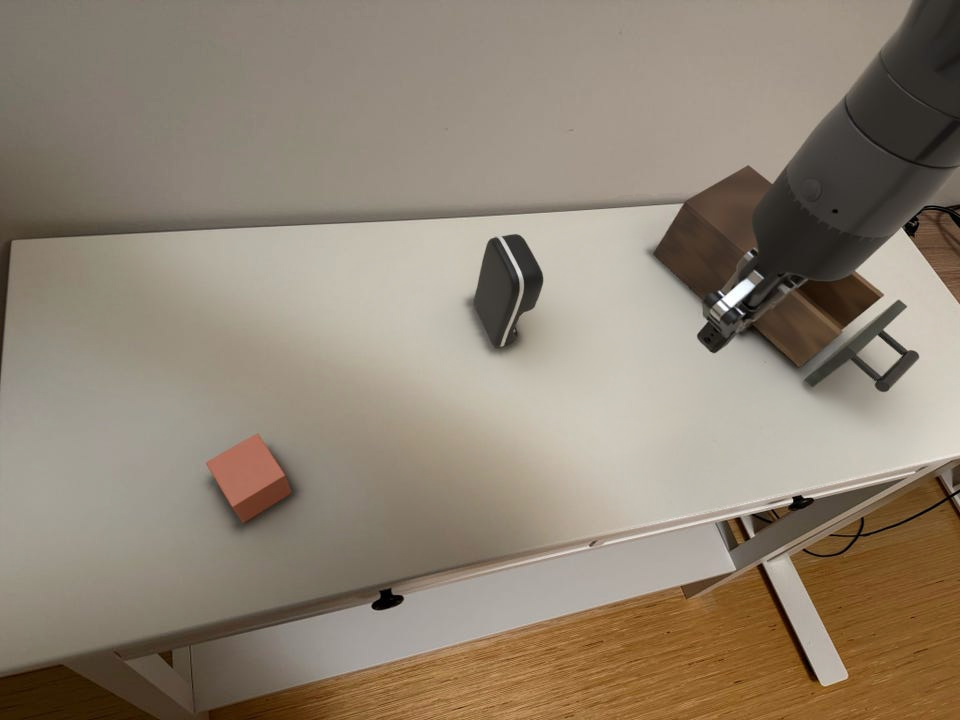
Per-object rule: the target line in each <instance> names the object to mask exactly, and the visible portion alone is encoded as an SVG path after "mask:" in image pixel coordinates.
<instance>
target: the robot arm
mask: <svg viewBox="0 0 960 720" xmlns="http://www.w3.org/2000/svg"><path fill="white" fill-rule="evenodd" d="M959 169H960V0H911V1H910V3H909V5H908V8H907V10H906V12H905V14H904V16H903V18H902V20H901V22H900V24H899V25H898V26H897V28H896V29H895V30H894V31H893V33H892V34H891V35H890V36H889V37H888V39H887V40H886V41H885V42H884V44H883V45H882V46H881V47H880V49H879V50H878V51H877V53H876V54H875V55H874V56H873V58H872V59H871V61H870V62H869V63H868V64H867V66H866V67H865V68H864V69H863V70H862V72H861V73H860V75H859V76H858V77H857V79H856V80H855V81H854V82H853V84H852V85H851V87H850V88H849V89H848V91H847V92H846V93H845V94H844V95H843V97H842V99H840V100H839V102H838V103H836V105H835V106H834V107H833V108H831V110H830V111H829V112H828V113H827V114H826V115H825V116H824V117H823V118H822V119H821V120H820V121H819V122H818V124H817V125H816V126H815V127H814V129H812V131H811V132H810V134H809V135H808V136H807V138H805V140H804V142H803V143H802V144H801V146H800V147H799V148H798V150H797V151H796V152H795V154H794V155H793V157H791V159H790V160H789V161H788V163H787V165H785V167H784V168H783V169H782V170H781V172H780V174H779V175H777V177H776V179H775V180H774V182H772V185H771V187H770V188H769V189H768V191H767V192H766V193H765V195H764V196H763V197H762V199H761V200H760V201H759V203H758V204H757V206H756V207H755V209H754V211H753V214H752V219H751V225H752V231H753V234H754V236H755V239H756V243H757V247H758V250H757V249H756V248H755V247H754V248H752V249H750V250H749V251H748V252H747V253H746V254H745V255H744V256H743V257H742V259H741V260H740V261H739V262H738V264H737V271H736V272H735V273H734V275H733V276H732V277H731V278H730V280H729V281H728V282H727V283H726V285H725V286H724V287H723V289H722V290H719V291H718V292H717V291H716V290H715V291H713V292H712V293H709V294H707V295H706V296H705V299H704V300H702V302H701V304H702V317H703V318H704V319H705V320H706V321H707V322H706V323H705V324H704V325H703V327H702V328H701V329H700V330H699V331H698V333H697V334H696V337H697V340H698V341H699V343H701V344H702V346H703V347H705V348H706V349H707V350H708V351H709V352H710V353H712V354H717V353H718V352H719V351H721V350H722V349H724V348H725V347H726V346H728V345H729V343H730V342H731V341H732V340H733V339H735V337H736V336H737V335H738V334H739V332H740V331H742V330H743V329H744V328H745V327H746V326H745V325H746V324H747V323H748V324H749V323H751V322H752V321H753V322H754V321H756V320H757V319H759V318H760V317H761V316H763V315H764V314H765V313H767V312H768V311H769V310H770V309H772V308H774V307H775V306H777V305H778V304H780V303H781V302H782V301H783V300H784V299H785V298H786V297H787V296H788V295H789V294H790V293H791V292H792V291H793V290H794V289H795V288H798V287H800V286H801V285H803V284H804V283H806V282H807V281H808V280H809V279H810V280H815V281H835V280H839V279H842V278H845V277H847V276H849V275H850V274H852V273H853V272H854V271H857V269H859V268H860V267H861V266H862V265H863V264H864V263H865V262H866V261H867V260H868V259H870V257H871V256H873V255H874V254H875V253H876V252H877V251H878V250H879V249H880V248H881V247H882V246H883V245H885V244H886V242H888V241H889V240H890V239H891V238H893V237H894V235H895V234H896V233H897V232H898V231H900V230H901V229H902V228H903V227H904V226H905V225H906V224H907V223H908V222H909V221H911V219H912V218H914V217H915V216H916V215H917V214H918V213H919V212H920V211H921V210H923V208H924V207H925V206H927V204H929V203H930V202H931V201H932V200H933V199H934V198H935V197H936V196H937V195H938V194H939V192H941V190H942V189H943V188H944V187H945V185H946V184H947V183H948V182H949V181H950V179H951V178H952V177H953V175H954V174H956V172H957V171H958V170H959Z"/></svg>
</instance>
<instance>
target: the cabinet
mask: <svg viewBox="0 0 960 720" xmlns="http://www.w3.org/2000/svg"><path fill="white" fill-rule="evenodd" d="M772 184H773V182H770V181H769V180H768V179H767V178H766V177H764V176H763V175H762V174H760V173H759V172H758V171H757V170H756V169H754V168H753V167H751V166H750V165H749V164H748V165H746V166H744V167H743V168H741V169H738V170H737V171H735V172H734V173H732V174H730V175H728V176H726V177H724V178H723V179H720V181H717V182H716V183H714V184H713V185H711V186H708V187H707V188H704V190H701V191H700V192H698V193H697V194H694V195H693V196H691V197H690V198H688V199H686V200H685V201H684V202H683V203H682V205H681V206H680V208H679V210H678V212H677V214H676V215H675V217H674V218H673V220H672V222H671V223H670V225H669V227H668V228H667V230H666V232H665V233H664V235H663V236H662V238H661V239H660V242H659V243H658V245H657V246H656V248H655V249H654V251H653V253H652V254H653V256H655V257H656V258H657V259H658V260H659V261H660V262H661V263H662V264H663V265H665V267H666V268H667V269H668V270H670V272H672V273H673V274H674V275H675V276H676V277H677V278H678V279H679V280H681V281H682V283H684V284H685V285H686V286H687V287H688V288H689V289H690V290H691V291H693V293H695V294H696V295H697V296H698V297H699V298H700V299H701V300H702V301H703V300H704V299H705V296H706V295H707V294H709V293H712V292H713V291H715V290H716V291H717V292H718V291H719V290H722V289H723V287H724V286H725V285H726V283H727V282H728V281H729V280H730V278H731V277H732V276H733V275H734V273H735V272H736V271H737V264H738V262H739V261H740V260H741V259H742V257H743V256H744V255H745V254H746V253H747V252H748V251H749V250H750V249H752V248H754V247H755V248H756V249H757V250H758V247H757V243H756V239H755V236H754V234H753V231H752V225H751V219H752V214H753V211H754V209H755V207H756V206H757V204H758V203H759V201H760V200H761V199H762V197H763V196H764V195H765V193H766V192H767V191H768V189H769V188H770V187H771V185H772ZM752 323H753V321H752V322H751V323H749V324H748V323H747V324H746V325H745V326H746V327H745V328H744V329H743V330H742V331H740V332H739V333H738V334H739V335H741V334H743V333H744V332H746V331H747V330H748V329H749V328H751V326H753V325H752Z"/></svg>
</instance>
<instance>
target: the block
mask: <svg viewBox="0 0 960 720" xmlns="http://www.w3.org/2000/svg"><path fill="white" fill-rule="evenodd" d="M205 465H206V466H207V469H208V470H209V471H210V473H211V475H212V476H213V478H214V479H215V481H216V483H217V484H218V486H219V488H220V490H221V491H222V493H223V495H224V496H225V498H226V499H227V501H228V503H229V505H230V506H231V508H232V509H233V511H234V512H235V514H236V515H237V517H238V518H239V520H240V521H241V523H242V524H244V523H246V522H248V521H249V520H251V519H252V518H254V517H256V516H257V515H259V514H260V513H262V512H263V511H265V510H267V509H268V508H270V507H272V506H273V505H274V504H277V503H278V502H279V501H281V500H284V499H285V498H286V497H288V496H290V495H291V494H292V489H291V487H290V484H289V481H288V478H287V476H286V474H285V472H284V471H283V468H282V467H281V466H280V464H279V463H278V461H277V460H276V458H275V457H274V455H273V454H272V452H271V451H270V449H269V447H268V446H267V445H266V443H265V441H264V440H263V438H262V437H261V435H260V433H256V434H254V435H252V436H250V437H248V438H246V439H244V440H243V441H241V442H240V443H238V444H236V445H234V446H232V447H231V448H229V449H227V450H225V451H223V452H221V453H220V454H218V455H216V456H215V457H213V458H211V459H209V460H207V461H205Z"/></svg>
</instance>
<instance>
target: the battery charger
mask: <svg viewBox="0 0 960 720" xmlns="http://www.w3.org/2000/svg"><path fill="white" fill-rule="evenodd" d="M478 275H479V276H478V280H477V285H476V289H475V294H474V298H473V305H474V306H475V309H476V311H477V314H478V315H479V318H480V320H481V322H482V324H483V326H484V328H485V331H486V332H487V335H488V337H489V339H490V341H491V343H492V345H493V346H494V347H500V348H501V347H504V346H505V345H509V344H512V343H513V342H515V341H516V340H517V338H518V335H519V332H518V329H517V327H516V326H517V324H518V321H519V319H520V317H521V316H522V315H523V313H526V312H529V311H532V310H533V309H535V308H536V304H537V302H538V300H539V298H540V295H541V292H542V288H543V285H544V273H543V271H542V268H541V266H540V265H539V263H538V261H537V258H536V257H535V255H534V253H533V251H532V249H531V248H530V246H529V245H528V243H527V241H526V240H525V238H524V237H523V236H521V234H517V233H514V234H507V235H502V236H501V235H496V236H494V237H491V238H490V239H489V240H487V243H486V245H485V250H484V253H483V256H482V261H481V266H480V270H479V274H478Z"/></svg>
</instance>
